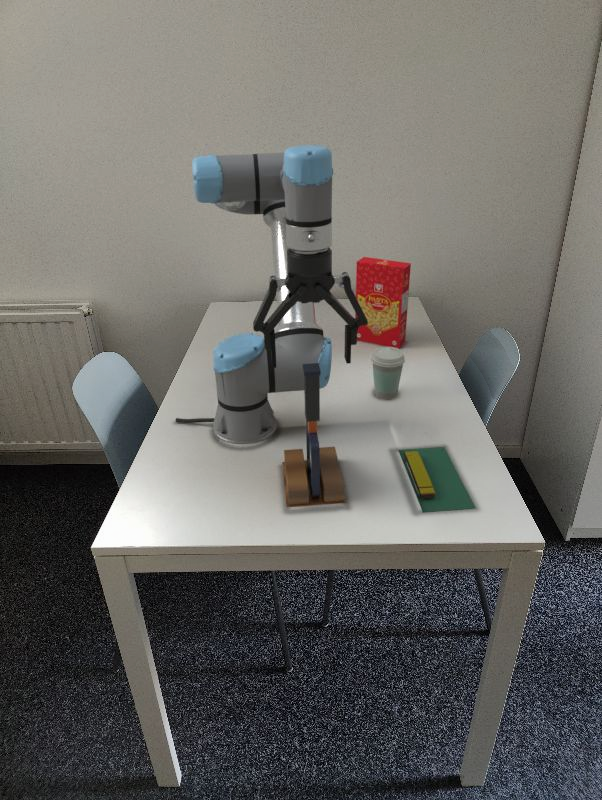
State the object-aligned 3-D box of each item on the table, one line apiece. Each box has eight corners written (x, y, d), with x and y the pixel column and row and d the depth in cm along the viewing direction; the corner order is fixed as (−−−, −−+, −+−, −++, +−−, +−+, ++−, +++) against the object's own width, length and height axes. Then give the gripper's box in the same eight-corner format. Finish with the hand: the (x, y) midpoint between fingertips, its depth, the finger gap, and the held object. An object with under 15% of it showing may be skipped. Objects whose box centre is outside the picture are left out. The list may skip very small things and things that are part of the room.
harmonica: (420, 493, 116) (419, 500, 117) (435, 492, 116) (434, 499, 117) (403, 450, 129) (403, 458, 130) (417, 449, 129) (416, 457, 130)
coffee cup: (401, 403, 150) (404, 361, 144) (367, 400, 152) (369, 359, 146) (403, 387, 157) (406, 346, 151) (371, 384, 159) (373, 344, 153)
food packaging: (354, 339, 185) (356, 261, 172) (361, 333, 188) (364, 256, 176) (398, 348, 178) (404, 268, 166) (405, 342, 182) (410, 263, 169)
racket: (323, 499, 117) (323, 381, 103) (308, 500, 116) (306, 382, 103) (317, 466, 126) (316, 354, 112) (303, 467, 126) (300, 354, 112)
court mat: (415, 512, 114) (415, 512, 114) (391, 450, 132) (391, 450, 132) (475, 508, 115) (475, 507, 115) (444, 447, 133) (444, 446, 133)
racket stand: (347, 507, 116) (347, 488, 114) (286, 512, 115) (285, 493, 113) (336, 462, 129) (336, 444, 127) (282, 466, 128) (281, 448, 126)
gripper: (233, 258, 93) (243, 375, 104) (388, 251, 95) (381, 367, 105) (234, 245, 100) (243, 357, 110) (379, 238, 101) (373, 349, 112)
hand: (310, 362), depth 108 cm, fingers open, 13 cm apart
